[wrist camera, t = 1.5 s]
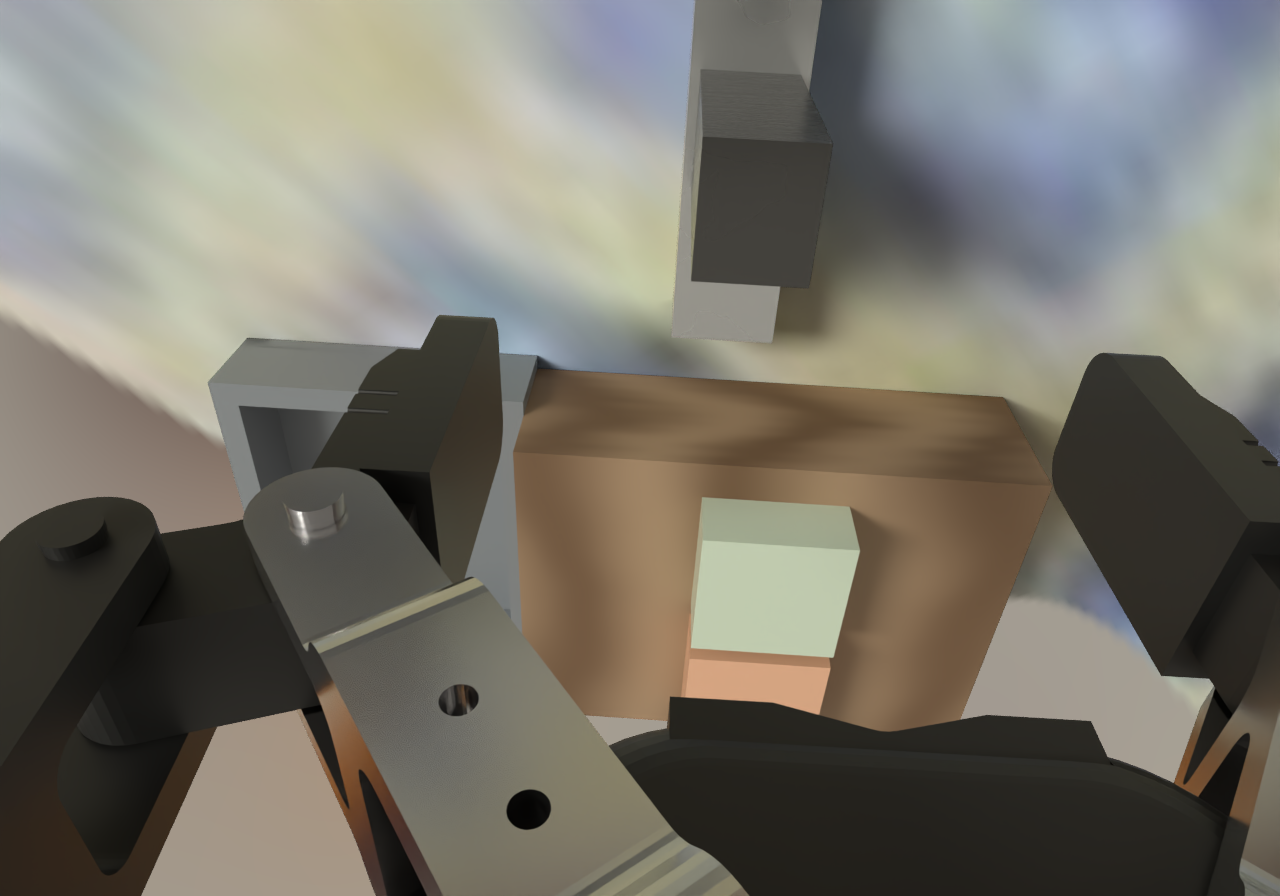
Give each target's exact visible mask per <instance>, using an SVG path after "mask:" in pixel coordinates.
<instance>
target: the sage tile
mask: <svg viewBox="0 0 1280 896" xmlns="http://www.w3.org/2000/svg"><path fill="white" fill-rule="evenodd" d="M859 553H860V548H859V544H858V540H857V535H856V531H855V527H854V523H853V518H852V514H851V510H850V507H847V506H831V505H815V504H800V503H784V502H769V501H753V500H737V499H722V498H706V497H702V503H701V512H700V522H699V531H698V541H697V550H696V560H695V569H694V579H693V588H692V597H691V648H697V649H712V650H727V651H742V652H756V653H771V654H786V655H801V656H816V657H831V658H833V657H834V653H835V649H836V645H837V641H838V637H839V633H840V629H841V625H842V621H843V617H844V613H845V609H846V605H847V601H848V597H849V593H850V589H851V585H852V581H853V577H854V573H855V569H856V565H857V561H858V557H859Z"/></svg>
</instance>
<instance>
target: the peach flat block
mask: <svg viewBox="0 0 1280 896" xmlns="http://www.w3.org/2000/svg"><path fill="white" fill-rule="evenodd" d="M830 669H831V667H830V661H829V657H816V656H801V655H786V654H771V653H756V652H742V651H727V650H712V649H697V648H691V613H690V616H689V626H688V635H687V645H686V654H685V664H684V673H683V682H682V692H681V697H688V698H705V699H722V700H739V701H756V702H773V703H777V704H780V705H784V706H788V707H792V708H795V709H799V710H803V711H806V712H810V713H814V714H818V715H819V713H820V709H821V705H822V701H823V697H824V693H825V689H826V685H827V681H828V677H829V673H830Z"/></svg>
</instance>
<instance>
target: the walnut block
mask: <svg viewBox="0 0 1280 896" xmlns="http://www.w3.org/2000/svg"><path fill="white" fill-rule="evenodd" d="M513 463H514V483H515V502H516V522H517V541H518V561H519V580H520V600H521V619H522V634H523V636H524V637H525V638H526V639H527V641H528V642H529V643H530V645H531V646H532V647H533V649H534V650H535V651H536V652H537V654H538V655H539V656H540V658H541V659H542V660H543V662H544V663H545V664H546V665H547V667H548V668H549V669H550V671H551V672H552V673H553V675H554V676H555V677H556V678H557V680H558V681H559V682H560V684H561V685H562V686H563V688H564V689H565V690H566V691H567V693H568V694H569V695H570V697H571V698H572V699H573V701H574V702H575V703H576V704H577V706H578V707H579V708H580V710H581V711H582V712H583V714H584V715H590V716H605V717H621V718H634V719H635V718H636V719H648V720H663V721H668V712H669V701H670V696H671V697H681V692H682V682H683V673H684V664H685V654H686V645H687V635H688V626H689V616H690V613H691V597H692V588H693V579H694V569H695V560H696V550H697V541H698V531H699V522H700V512H701V503H702V497H706V498H722V499H737V500H753V501H769V502H784V503H800V504H815V505H831V506H847V507H850V510H851V514H852V518H853V523H854V527H855V531H856V535H857V540H858V544H859V548H860V553H859V557H858V561H857V565H856V569H855V573H854V577H853V581H852V585H851V589H850V593H849V597H848V601H847V605H846V609H845V613H844V617H843V621H842V625H841V629H840V633H839V637H838V641H837V645H836V649H835V653H834V657H833V658H831V657H829V661H830V667H831V669H830V673H829V677H828V681H827V685H826V689H825V693H824V697H823V701H822V705H821V709H820V713H819V715H821V716H825V717H829V718H832V719H836V720H840V721H843V722H847V723H851V724H855V725H858V726H862V727H866V728H869V729H873V730H878V731H887V732H890V731H899V730H905V729H910V728H916V727H922V726H927V725H933V724H939V723H945V722H950V721H956V720H960V718H961V716H962V713H963V711H964V708H965V706H966V703H967V701H968V698H969V696H970V693H971V691H972V688H973V686H974V683H975V681H976V678H977V676H978V673H979V671H980V668H981V665H982V663H983V660H984V658H985V655H986V653H987V650H988V648H989V645H990V643H991V640H992V638H993V635H994V632H995V630H996V628H997V625H998V623H999V620H1000V618H1001V615H1002V612H1003V610H1004V608H1005V605H1006V603H1007V600H1008V597H1009V595H1010V592H1011V590H1012V587H1013V585H1014V582H1015V580H1016V577H1017V575H1018V572H1019V570H1020V567H1021V565H1022V562H1023V560H1024V557H1025V555H1026V552H1027V550H1028V547H1029V545H1030V542H1031V540H1032V537H1033V534H1034V532H1035V529H1036V527H1037V524H1038V522H1039V519H1040V517H1041V514H1042V512H1043V509H1044V507H1045V504H1046V502H1047V499H1048V497H1049V494H1050V492H1051V489H1052V487H1053V486H1052V484H1051V482H1050V481H1049V479H1048V477H1047V475H1046V473H1045V472H1044V470H1043V468H1042V466H1041V464H1040V463H1039V461H1038V459H1037V457H1036V455H1035V454H1034V452H1033V450H1032V448H1031V446H1030V445H1029V443H1028V441H1027V439H1026V437H1025V436H1024V434H1023V432H1022V430H1021V428H1020V427H1019V425H1018V423H1017V421H1016V419H1015V418H1014V416H1013V414H1012V412H1011V410H1010V409H1009V407H1008V405H1007V403H1006V401H1005V400H1004V398H1003V397H989V396H973V395H957V394H941V393H925V392H909V391H892V390H876V389H860V388H844V387H828V386H812V385H795V384H779V383H763V382H747V381H731V380H715V379H698V378H682V377H666V376H650V375H634V374H618V373H601V372H585V371H569V370H553V369H537V372H536V375H535V379H534V382H533V385H532V389H531V392H530V396H529V399H528V402H527V406H526V409H525V413H524V416H523V419H522V423H521V426H520V430H519V433H518V436H517V440H516V443H515V447H514V450H513Z"/></svg>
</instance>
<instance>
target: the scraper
mask: <svg viewBox="0 0 1280 896" xmlns="http://www.w3.org/2000/svg"><path fill="white" fill-rule="evenodd" d="M821 5H822V0H694V6H693V20H692V34H691V49H690V63H689V77H688V92H687V106H686V120H685V135H684V149H683V163H682V177H681V192H680V206H679V220H678V235H677V249H676V263H675V278H674V292H673V313H672V336H671V337H678V338H694V339H710V340H727V341H743V342H759V343H772V341H773V334H774V327H775V320H776V313H777V306H778V299H779V293H780V287H794V288H809V285H810V279H811V273H812V267H813V261H814V255H815V249H816V243H817V237H818V231H819V225H820V219H821V213H822V207H823V201H824V195H825V189H826V183H827V177H828V171H829V165H830V159H831V153H832V147H833V143H832V141H831V138H830V136H829V134H828V132H827V130H826V128H825V125H824V123H823V121H822V119H821V117H820V115H819V112H818V110H817V108H816V106H815V104H814V102H813V99H812V97H811V95H810V93H809V87H810V80H811V73H812V67H813V60H814V53H815V46H816V39H817V32H818V26H819V19H820V12H821Z"/></svg>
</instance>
